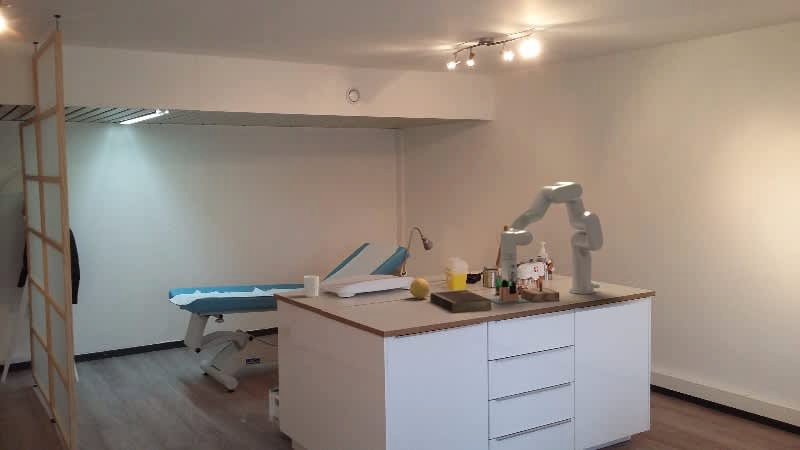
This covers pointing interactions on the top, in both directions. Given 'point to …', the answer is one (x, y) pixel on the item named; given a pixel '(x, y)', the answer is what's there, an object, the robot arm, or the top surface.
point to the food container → (499, 283)
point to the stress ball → (419, 288)
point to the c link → (508, 294)
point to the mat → (499, 301)
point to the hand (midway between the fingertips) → (508, 292)
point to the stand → (539, 294)
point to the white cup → (311, 286)
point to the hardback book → (460, 301)
